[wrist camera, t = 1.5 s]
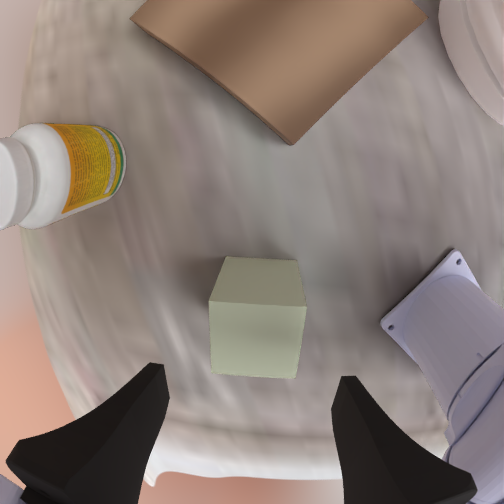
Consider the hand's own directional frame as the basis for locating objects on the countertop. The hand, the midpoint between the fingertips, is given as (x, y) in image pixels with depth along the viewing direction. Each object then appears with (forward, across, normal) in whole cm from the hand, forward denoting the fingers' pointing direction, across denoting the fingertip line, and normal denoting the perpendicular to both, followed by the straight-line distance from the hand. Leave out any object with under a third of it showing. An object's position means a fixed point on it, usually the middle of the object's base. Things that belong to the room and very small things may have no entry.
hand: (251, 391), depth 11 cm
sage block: (+9, 0, 0) cm, 9 cm away
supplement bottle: (+10, +11, -8) cm, 17 cm away
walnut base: (+9, -1, -18) cm, 20 cm away
